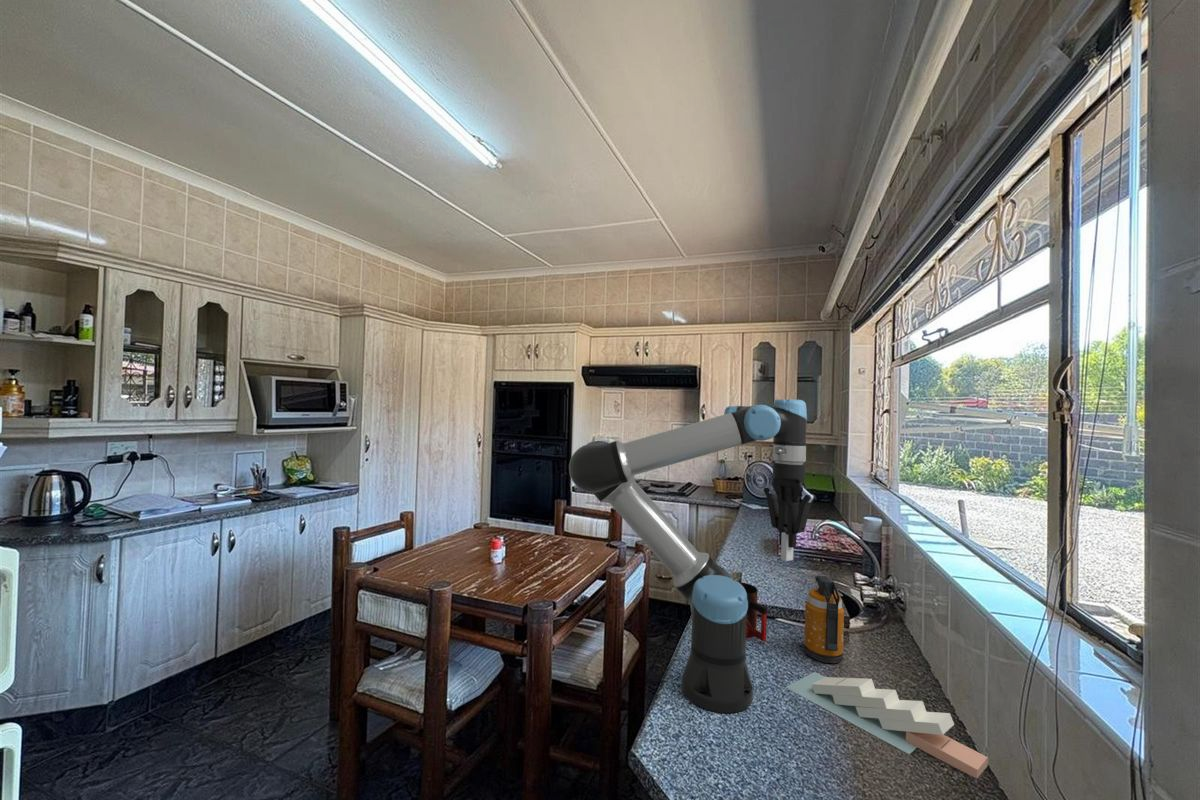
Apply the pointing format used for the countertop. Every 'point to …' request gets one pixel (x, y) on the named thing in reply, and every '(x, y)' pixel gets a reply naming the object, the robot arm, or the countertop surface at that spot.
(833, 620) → the canister
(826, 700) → the mat
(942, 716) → the domino
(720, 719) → the countertop surface
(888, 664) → the countertop surface
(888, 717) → the domino
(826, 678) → the domino
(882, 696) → the domino
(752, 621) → the mug
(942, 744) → the end domino
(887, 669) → the countertop surface
